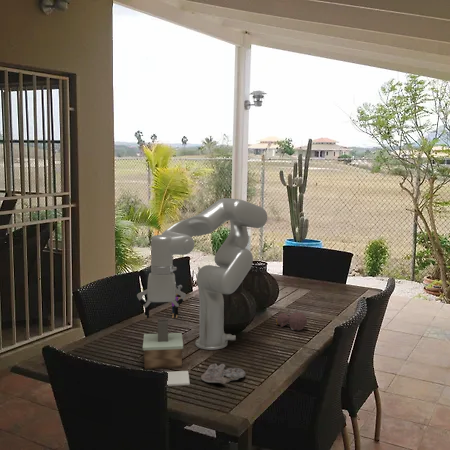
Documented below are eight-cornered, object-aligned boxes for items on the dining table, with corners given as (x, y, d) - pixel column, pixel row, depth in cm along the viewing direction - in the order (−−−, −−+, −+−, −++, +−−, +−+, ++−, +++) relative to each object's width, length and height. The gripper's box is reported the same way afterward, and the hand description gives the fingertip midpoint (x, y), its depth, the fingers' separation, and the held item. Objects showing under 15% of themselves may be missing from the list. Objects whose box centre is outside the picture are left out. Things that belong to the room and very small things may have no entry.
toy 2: (277, 332, 234) (306, 335, 224) (270, 320, 230) (299, 322, 220) (285, 319, 239) (314, 321, 229) (278, 306, 235) (307, 308, 225)
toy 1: (163, 317, 243) (162, 285, 241) (168, 314, 249) (168, 282, 247) (183, 320, 240) (183, 287, 238) (188, 316, 245) (188, 285, 243)
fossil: (242, 370, 188) (200, 374, 187) (242, 360, 188) (199, 364, 187) (248, 385, 171) (202, 390, 170) (247, 374, 171) (201, 379, 169)
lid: (181, 335, 199) (181, 314, 198) (183, 348, 185) (183, 326, 184) (144, 336, 197) (143, 315, 196) (142, 350, 184) (142, 328, 182)
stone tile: (188, 372, 182) (188, 370, 182) (189, 384, 173) (189, 383, 172) (158, 373, 181) (158, 372, 181) (158, 386, 171) (158, 384, 171)
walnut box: (180, 353, 199) (180, 335, 198) (181, 367, 187) (181, 348, 186) (145, 355, 198) (145, 337, 197) (144, 369, 185) (144, 349, 184)
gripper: (185, 267, 192) (185, 313, 194) (137, 268, 190) (137, 314, 192) (186, 272, 185) (186, 319, 187) (136, 272, 183) (136, 320, 185)
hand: (161, 317), depth 190 cm, fingers open, 9 cm apart
